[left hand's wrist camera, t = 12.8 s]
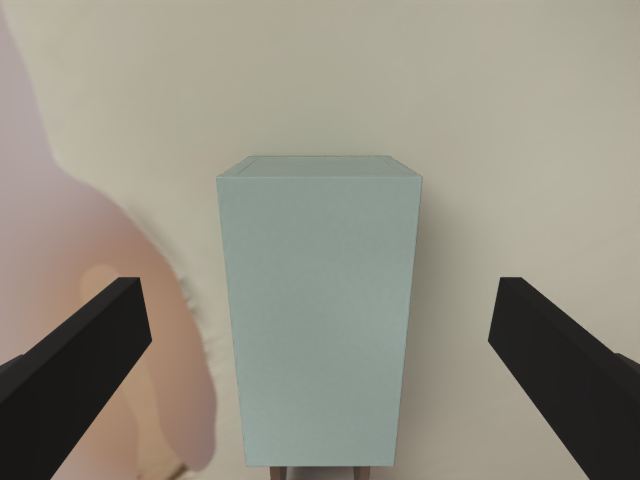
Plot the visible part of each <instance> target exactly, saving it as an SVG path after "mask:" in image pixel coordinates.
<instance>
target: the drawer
mask: <svg viewBox="0 0 640 480" xmlns="http://www.w3.org/2000/svg"><path fill="white" fill-rule="evenodd" d="M270 476H271V480H370V479H369V478H370V466H270Z"/></svg>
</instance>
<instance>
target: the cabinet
mask: <svg viewBox="0 0 640 480" xmlns="http://www.w3.org/2000/svg"><path fill="white" fill-rule="evenodd" d="M422 179H423V177H422V176H420V175H419V174H417V173H416V172H414V171H412V170H411V169H409V168H408V167H406V166H405V165H403V164H401V163H400V162H398V161H397V160H395V159H393V158H392V157H390V156H249V157H247V158H246V159H245V160H243V161H242V162H240V163H238V164H237V165H235V166H234V167H232V168H230V169H229V170H227V171H226V172H224V173H223V174H220V175H219V176H217V177H216V181H217V190H218V200H219V210H220V219H221V229H222V238H223V248H224V258H225V267H226V277H227V286H228V296H229V306H230V315H231V325H232V334H233V344H234V354H235V363H236V373H237V382H238V392H239V402H240V411H241V421H242V430H243V440H244V450H245V459H246V466H394V459H395V449H396V439H397V429H398V419H399V409H400V399H401V389H402V379H403V369H404V359H405V349H406V339H407V329H408V319H409V309H410V299H411V289H412V279H413V269H414V259H415V249H416V239H417V229H418V219H419V209H420V199H421V189H422Z"/></svg>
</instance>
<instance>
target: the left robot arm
mask: <svg viewBox="0 0 640 480" xmlns="http://www.w3.org/2000/svg"><path fill="white" fill-rule="evenodd" d="M151 342H152V338H151V332H150V328H149V322H148V317H147V312H146V307H145V302H144V297H143V292H142V287H141V282H140V278H139V277H118V278H117V279H116V280H115V281H114V282H112V283H111V284H110V285H109V286H107V287H106V288H105V289H104V290H103V291H101V292H100V293H99V294H98V295H96V296H95V297H94V298H93V299H91V300H90V301H89V302H88V303H87V304H85V305H84V306H83V307H82V308H80V309H79V310H78V311H77V312H76V313H74V314H73V315H72V316H71V317H69V318H68V319H67V320H66V321H65V322H63V323H62V324H61V325H60V326H59V327H57V328H56V329H55V330H54V331H52V332H51V333H50V334H49V335H47V336H46V337H45V338H44V339H43V340H41V341H40V342H39V343H38V344H36V345H35V346H34V347H33V348H32V349H30V350H29V351H28V352H27V353H25V354H24V355H19V356H17V357H16V358H14V359H12V360H10V361H8V362H6V363H5V364H3V365H1V366H0V480H50V479H51V478H52V476H53V475H54V474H55V472H56V471H57V470H58V468H59V467H60V466H61V464H62V463H63V462H64V460H65V459H66V457H67V456H68V455H69V453H70V452H71V451H72V449H73V448H74V447H75V445H76V444H77V442H78V441H79V440H80V438H81V437H82V436H83V434H84V433H85V432H86V430H87V429H88V428H89V426H90V425H91V423H92V422H93V421H94V419H95V418H96V417H97V415H98V414H99V412H100V411H101V410H102V409H103V407H104V406H105V404H106V403H107V402H108V400H109V399H110V398H111V396H112V395H113V394H114V392H115V391H116V389H117V388H118V387H119V385H120V384H121V383H122V381H123V380H124V379H125V377H126V376H127V375H128V373H129V372H130V370H131V369H132V368H133V366H134V365H135V364H136V362H137V361H138V360H139V358H140V357H141V355H142V354H143V353H144V351H145V350H146V349H147V347H148V346H149V345H150V343H151ZM488 342H489V343H490V345H491V346H492V347H493V349H494V350H495V351H496V353H497V354H498V355H499V357H500V358H501V360H502V361H503V362H504V364H505V365H506V366H507V368H508V369H509V370H510V372H511V373H512V375H513V376H514V377H515V379H516V380H517V381H518V383H519V384H520V385H521V387H522V388H523V389H524V391H525V392H526V394H527V395H528V396H529V398H530V399H531V400H532V402H533V403H534V404H535V406H536V407H537V409H538V410H539V411H540V413H541V414H542V415H543V417H544V418H545V419H546V421H547V422H548V423H549V425H550V426H551V428H552V429H553V430H554V432H555V433H556V434H557V436H558V437H559V438H560V440H561V441H562V443H563V444H564V445H565V447H566V448H567V449H568V451H569V452H570V453H571V455H572V456H573V457H574V459H575V460H576V462H577V463H578V464H579V466H580V467H581V468H582V470H583V471H584V472H585V474H586V475H587V477H588V478H589V479H590V480H640V364H638V363H636V362H635V361H633V360H631V359H629V358H627V357H625V356H623V355H622V354H620V353H613V352H612V351H611V350H610V349H608V348H607V347H606V346H605V345H604V344H602V343H601V342H600V341H599V340H597V339H596V338H595V337H594V336H593V335H591V334H590V333H589V332H588V331H586V330H585V329H584V328H583V327H582V326H580V325H579V324H578V323H577V322H575V321H574V320H573V319H572V318H571V317H569V316H568V315H567V314H566V313H564V312H563V311H562V310H561V309H560V308H558V307H557V306H556V305H555V304H553V303H552V302H551V301H550V300H549V299H547V298H546V297H545V296H544V295H542V294H541V293H540V292H539V291H537V290H536V289H535V288H534V287H533V286H531V285H530V284H529V283H528V282H526V281H525V280H524V279H523V278H522V277H500V282H499V287H498V292H497V297H496V302H495V307H494V312H493V317H492V322H491V327H490V332H489V338H488Z"/></svg>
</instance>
